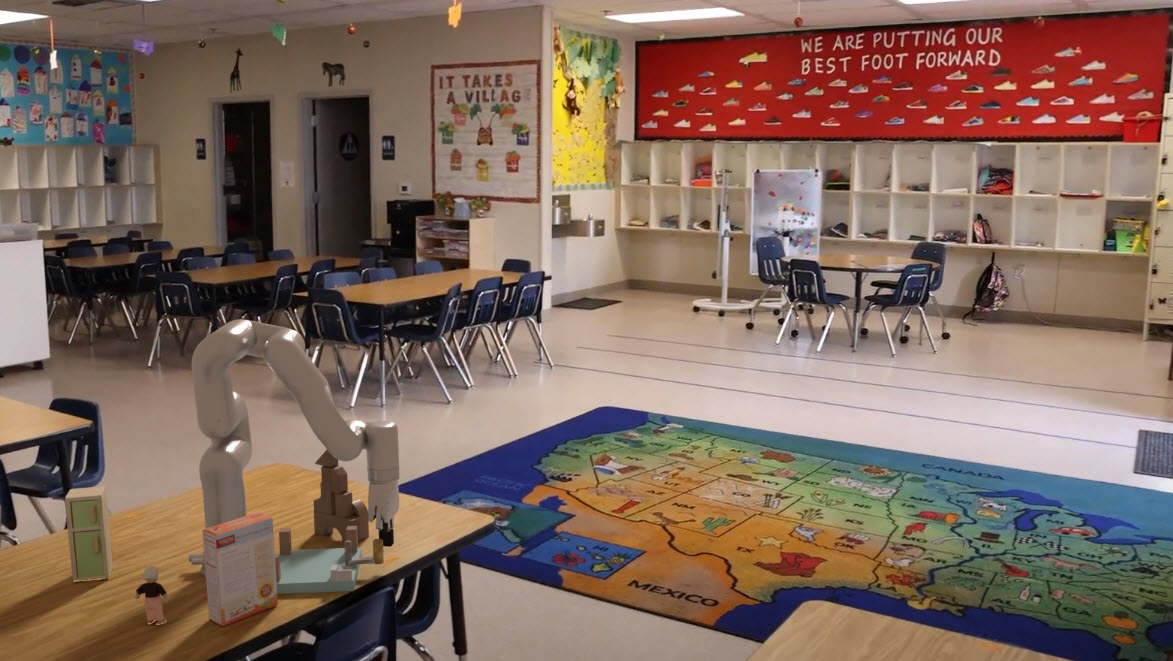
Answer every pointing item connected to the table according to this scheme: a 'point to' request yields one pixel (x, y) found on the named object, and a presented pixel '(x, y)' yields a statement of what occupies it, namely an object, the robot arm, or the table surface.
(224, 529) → the cracker box
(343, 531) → the wooden toy
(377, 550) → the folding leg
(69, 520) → the toy refrigerator
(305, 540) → the table surface
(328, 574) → the mint green baseplate
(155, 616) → the grandmother figurine
